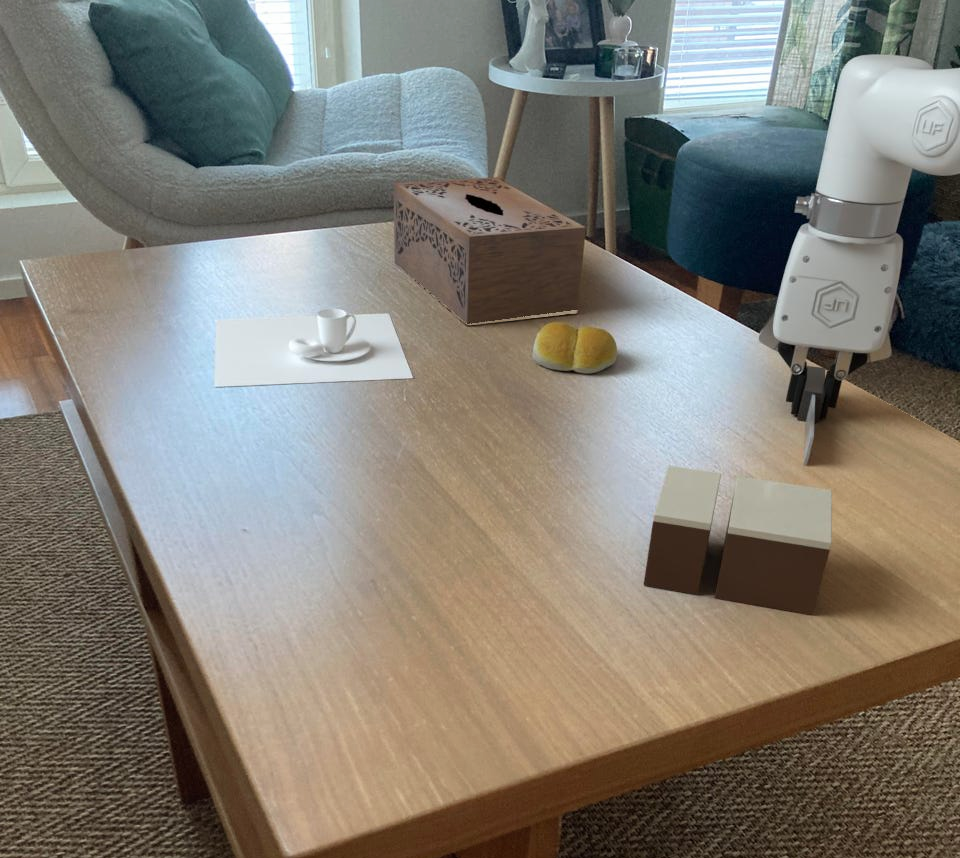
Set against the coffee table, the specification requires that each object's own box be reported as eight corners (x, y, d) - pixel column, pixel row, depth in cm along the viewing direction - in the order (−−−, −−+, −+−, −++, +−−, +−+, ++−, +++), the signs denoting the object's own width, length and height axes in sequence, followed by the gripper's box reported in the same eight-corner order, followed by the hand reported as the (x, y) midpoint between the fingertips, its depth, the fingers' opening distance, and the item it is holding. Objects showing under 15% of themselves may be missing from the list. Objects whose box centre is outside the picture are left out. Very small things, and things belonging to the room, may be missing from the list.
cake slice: (708, 541, 81) (721, 473, 77) (697, 595, 75) (711, 523, 71) (657, 533, 82) (668, 465, 78) (643, 585, 76) (654, 514, 72)
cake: (813, 559, 79) (832, 489, 76) (812, 615, 73) (832, 542, 70) (723, 544, 81) (737, 475, 77) (714, 598, 74) (728, 526, 71)
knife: (798, 393, 106) (805, 365, 104) (818, 396, 106) (825, 367, 104) (793, 463, 93) (801, 433, 91) (816, 467, 92) (824, 436, 90)
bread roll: (614, 378, 108) (618, 341, 105) (529, 371, 108) (531, 334, 106) (617, 350, 114) (621, 314, 112) (536, 343, 115) (539, 308, 113)
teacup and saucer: (291, 367, 107) (287, 328, 105) (287, 340, 113) (284, 303, 111) (374, 363, 109) (373, 325, 106) (366, 337, 115) (365, 300, 112)
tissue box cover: (394, 263, 138) (393, 183, 132) (493, 254, 143) (496, 177, 137) (466, 326, 119) (469, 236, 113) (578, 314, 124) (585, 227, 118)
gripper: (760, 217, 90) (724, 414, 100) (952, 236, 86) (893, 438, 97) (765, 197, 95) (730, 386, 106) (945, 215, 92) (890, 407, 103)
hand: (808, 409), depth 102 cm, fingers closed on knife, 2 cm apart
